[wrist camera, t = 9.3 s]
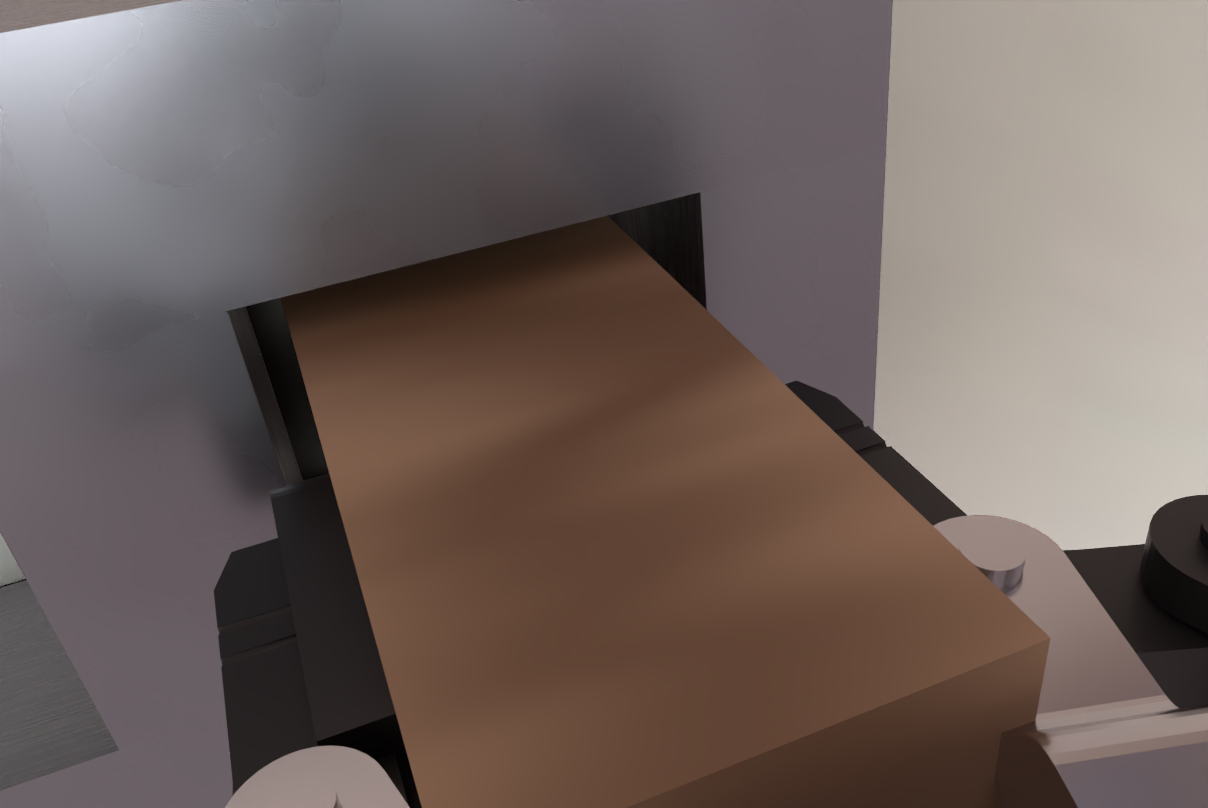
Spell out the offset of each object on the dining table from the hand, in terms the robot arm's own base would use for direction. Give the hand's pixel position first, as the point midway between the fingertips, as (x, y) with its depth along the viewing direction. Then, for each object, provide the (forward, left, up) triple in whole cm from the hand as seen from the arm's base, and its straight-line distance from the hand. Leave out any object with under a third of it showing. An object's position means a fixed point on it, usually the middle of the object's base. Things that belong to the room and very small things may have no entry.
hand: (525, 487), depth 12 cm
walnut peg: (0, 0, -2) cm, 2 cm away
